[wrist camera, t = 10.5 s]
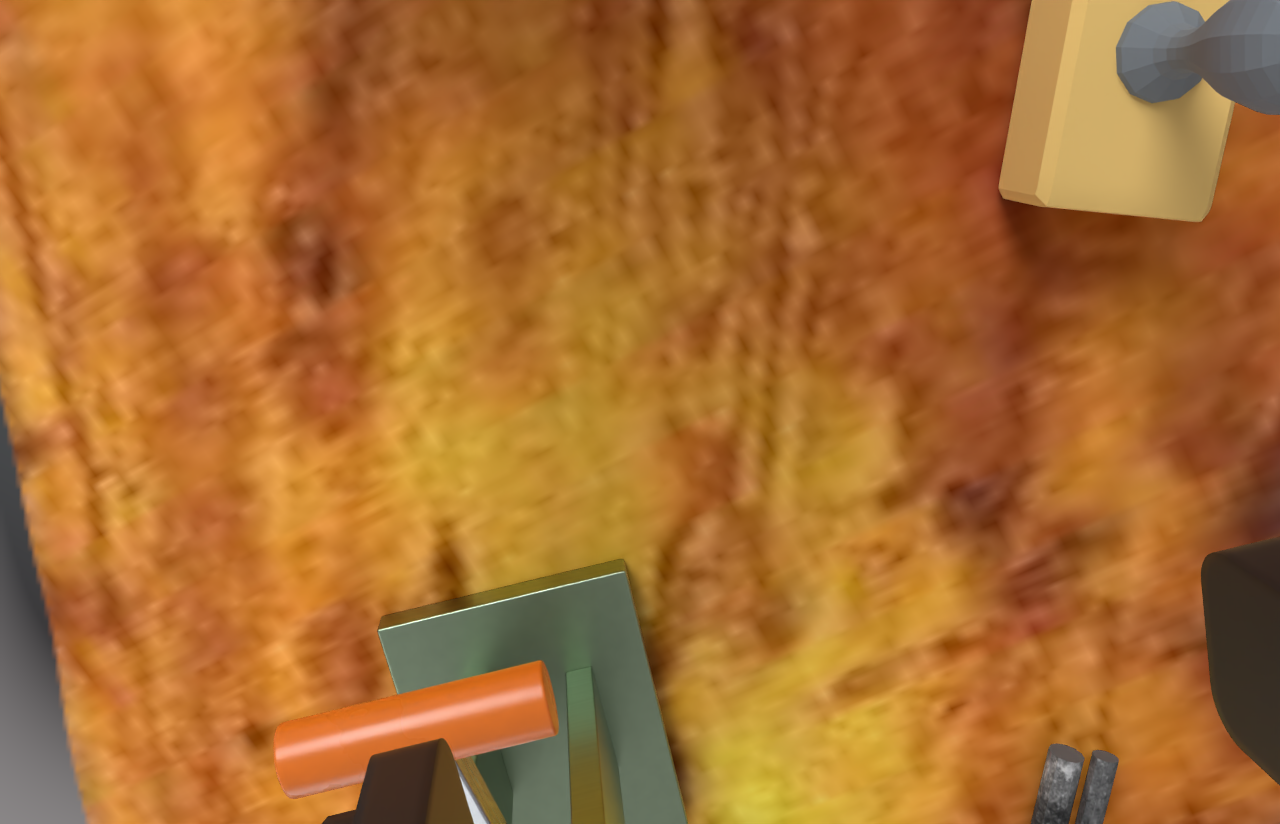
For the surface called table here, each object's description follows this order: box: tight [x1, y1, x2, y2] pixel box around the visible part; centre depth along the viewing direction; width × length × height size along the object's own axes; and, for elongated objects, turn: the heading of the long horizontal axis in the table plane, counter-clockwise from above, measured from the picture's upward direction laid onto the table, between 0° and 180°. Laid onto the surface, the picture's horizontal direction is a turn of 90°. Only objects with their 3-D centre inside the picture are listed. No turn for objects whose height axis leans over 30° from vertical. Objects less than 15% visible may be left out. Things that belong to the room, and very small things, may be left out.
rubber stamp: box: [999, 0, 1280, 222], centre depth 32 cm, size 10×6×12 cm, turn 174°
